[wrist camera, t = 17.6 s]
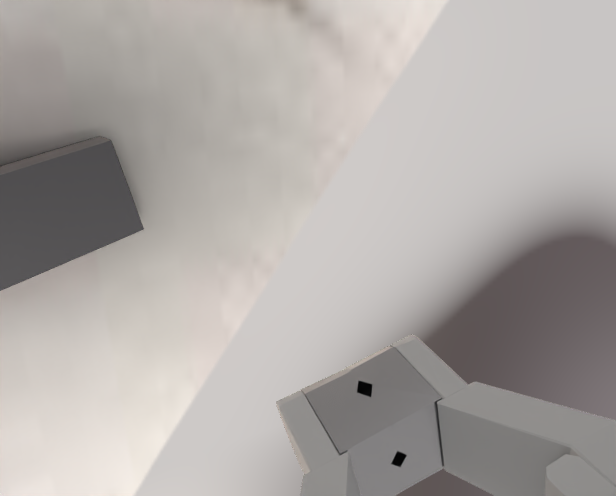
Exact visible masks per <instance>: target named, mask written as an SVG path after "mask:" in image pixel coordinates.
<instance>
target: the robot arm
mask: <svg viewBox="0 0 616 496" xmlns="http://www.w3.org/2000/svg"><path fill="white" fill-rule="evenodd" d="M276 404H277V408H278V410H279V413H280V416H281V419H282V421H283V423H284V426H285V429H286V432H287V435H288V438H289V440H290V442H291V445H292V448H293V450H294V452H295V455H296V457H297V460H298V462H299V464H300V467H301V469H302V471H303V473H304V476H303V479H302V486H301V493H300V496H396V495H397V494H399V493H400V492H401V491H403V490H405V489H407V488H409V487H411V486H412V485H414V484H416V483H418V482H420V481H421V480H423V479H425V478H427V477H428V476H430V475H432V474H434V473H436V472H438V471H439V470H441V469H443V468H445V471H447V472H449V473H451V474H453V475H455V476H457V477H459V478H461V479H463V480H465V481H467V482H469V483H471V484H473V485H475V486H477V487H479V488H481V489H483V490H485V491H487V492H489V493H491V494H493V495H495V496H616V420H612V419H608V418H605V417H601V416H598V415H594V414H590V413H586V412H583V411H580V410H576V409H572V408H569V407H565V406H562V405H558V404H554V403H550V402H547V401H544V400H540V399H536V398H533V397H529V396H525V395H522V394H518V393H515V392H511V391H507V390H504V389H500V388H497V387H493V386H489V385H485V384H482V383H479V382H473V383H471V384H469V385H468V384H467V383H466V382H465V381H464V380H463V379H462V378H460V376H458V375H457V374H456V373H455V372H454V371H453V370H452V369H451V368H450V367H449V366H448V365H446V364H445V363H444V361H442V360H441V359H440V358H439V357H438V356H437V355H436V354H435V353H434V352H433V351H432V350H431V349H430V348H428V347H427V346H426V345H425V344H424V343H423V342H422V341H421V340H420V339H419V338H418V337H417V336H414V335H409V336H407V337H406V338H404V339H401V340H400V341H398V342H396V343H394V344H392V345H390V346H387V347H386V348H384V349H382V350H380V351H378V352H376V353H374V354H372V355H370V356H368V357H366V358H364V359H362V360H360V361H358V362H356V363H354V364H352V365H350V366H349V367H347V368H346V369H344V370H342V371H339V372H338V373H335V374H333V375H331V376H329V377H327V378H325V379H322V380H320V381H318V382H316V383H314V384H312V385H310V386H307V387H305V388H303V389H301V391H298V392H296V393H294V394H292V395H290V396H287V397H285V398H283V399H281V400H279V401H277V402H276Z"/></svg>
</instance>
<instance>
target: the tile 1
mask: <svg viewBox="0 0 616 496" xmlns="http://www.w3.org/2000/svg"><path fill="white" fill-rule="evenodd" d="M143 229H144V228H143V225H142V223H141V220H140V217H139V215H138V212H137V209H136V207H135V204H134V201H133V198H132V196H131V193H130V190H129V188H128V185H127V182H126V179H125V177H124V174H123V171H122V169H121V166H120V163H119V160H118V158H117V155H116V152H115V150H114V147H113V144H112V142H111V140H109V139H106V138H103V137H101V136H98V137H95V138H91V139H88V140H85V141H82V142H78V143H75V144H72V145H69V146H65V147H62V148H59V149H56V150H52V151H49V152H46V153H42V154H39V155H36V156H33V157H29V158H26V159H23V160H20V161H16V162H13V163H10V164H6V165H3V166H0V291H1V290H3V289H6V288H8V287H10V286H13V285H15V284H17V283H20V282H22V281H24V280H27V279H29V278H31V277H34V276H36V275H38V274H41V273H43V272H45V271H48V270H50V269H52V268H55V267H57V266H59V265H62V264H64V263H66V262H69V261H71V260H73V259H76V258H78V257H80V256H83V255H85V254H87V253H90V252H92V251H94V250H97V249H99V248H101V247H104V246H106V245H108V244H111V243H113V242H115V241H117V240H120V239H122V238H124V237H127V236H129V235H131V234H134V233H136V232H138V231H141V230H143Z"/></svg>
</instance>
